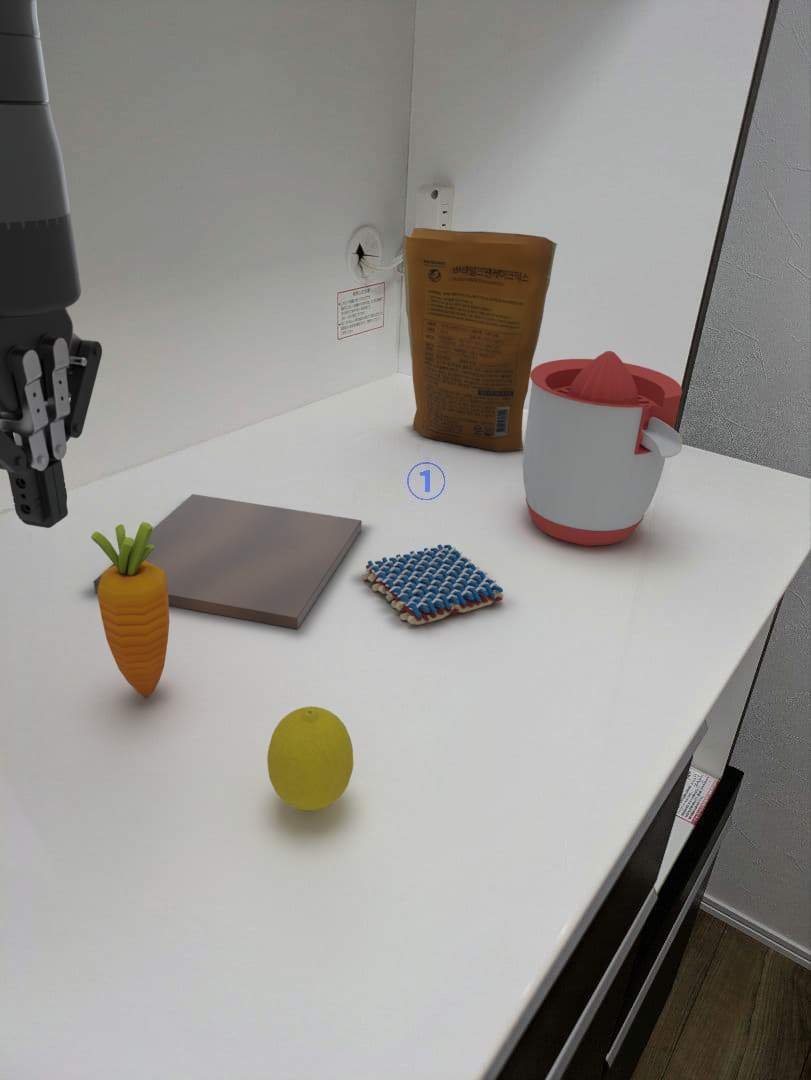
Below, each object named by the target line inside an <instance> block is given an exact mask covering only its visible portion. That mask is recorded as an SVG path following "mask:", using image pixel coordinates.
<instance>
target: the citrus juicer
mask: <svg viewBox="0 0 811 1080" xmlns="http://www.w3.org/2000/svg"><path fill="white" fill-rule="evenodd" d="M530 379H531V388H530V396H529V403H528V412H527V420H526V428H525V436H524V443H523V453H522V454H523V456H522V477H523V478H522V479H523V487H524V492H525V502H526V505H527V509H528V513H529V516H530V518H531V522H532V523H533V524H534V526H535V527H537V528H538V529H539V530H540V531H542V532H544V533H545V534H547V535H549V536H551V537H553V538H556V539H559V540H562V541H565V542H569V543H573V544H578V545H580V546H584V547H591V546H603V545H604V546H605V545H611V544H617V543H620V542H622V541H624V540H625V541H626V540H627V539H629V538H630V537H631V536H632V535H633V533H634V532H635V531H636V529H637V528H638V527H639V526H640V524H641V523H642V521H643V520H644V517H645V514H646V512H647V510H648V509H649V507H650V505H651V503H652V501H653V499H654V496H655V494H656V491H657V489H658V487H659V484H660V481H661V477H662V473H663V469H664V466H665V462H666V459H668V458H669V459H670V458H673V457H675V456H677V455H679V454H680V453H681V451H682V448H683V438H682V436H681V435H680V434H679V433H678V431H676V430H675V426H676V425H675V424H676V420H677V416H678V412H679V406H680V402H681V399H682V395H683V389H682V386H681V384H680V383H679V382H678V381H676V380H675V379H674V378H673V377H670V376H669V375H666V374H665V373H662V372H660V371H657V370H655V369H651V368H648V367H644V366H641V365H637V364H632V363H627V362H623V361H622V359H621V358H620V357H619V356H618V355H617V354H616V353H615V352H614V351H612V350H606V351H604V352H603V353H601V354H600V355H598V356H597V357H595V358H568V359H567V358H565V359H557V360H551V361H547V362H544V363H541V364H538V365H536V366H535V367H534V368H532V369H531V373H530Z"/></svg>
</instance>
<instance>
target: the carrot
mask: <svg viewBox="0 0 811 1080" xmlns="http://www.w3.org/2000/svg"><path fill="white" fill-rule="evenodd" d="M153 528H154V527H153V525H151V524H150V523H149V522H146V521H142V522H141V523H140V525H139V527H138V529H137V532H136V534H135V538H132V537H131V536H126V530H125V525H124V524H121V523H120V524H118V525H116V527H115V529H114V530H115V536H116V541H117V546H118V551H119V553H117V550H116V549H115V547H114V546H113V544H112V543H111V541H109V539H108V538H106V536H105V535H104V534H102V533H100V532H99V531H94V532H93V533H92V535H91V536H90V539H91V540H92V541H94V543H95V544H96V545H98V547H99V548H100V549H101V550H102V551H103V552H104V554H105V555H106V556H107V557H108V559H109V560H110V561H111V563H113V564H114V565H115V566H113V567H111V568H109V567H108V568H109V569H108V568H106V569H105V570H104V571H102V573H101V574H102V576H101V579H100V583H99V586H98V591H97V592H96V593H97V600H98V601H97V602H98V605H99V610H100V617H101V620H102V626H103V630H104V634H105V638H106V641H107V644H108V647H109V649H110V652H111V655H112V657H113V660H114V661H115V664H116V666H117V669H118V670H119V672H120V673H121V674H122V676H123V677H124V679H125V680H126V682H127V683H128V684H129V685H130V686H131V687H132V688H133V689H134V690H135V691H136V692H137V693H138V694H139V695H141V696H142V697H149V696H150V695H152V694H153V693H154V692H155V690H156V688H157V686H158V684H159V683H160V680H161V678H162V675H163V672H164V668H165V664H166V658H167V649H168V643H169V631H170V606H169V600H168V586H167V577H166V574H165V572H164V571H163V570H162V569H160V568H158V567H156V566H154V565H152V564H150V563H149V562H147V561H144V560H145V559H146V558H147V556H148V555H149V554H150V553H151V551H152V550H153V549H154V548H155V546H153V545H152V544H150V545H147V543H148V540H149V538H150V535H151V532H152V529H153Z"/></svg>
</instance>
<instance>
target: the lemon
mask: <svg viewBox="0 0 811 1080" xmlns="http://www.w3.org/2000/svg"><path fill="white" fill-rule="evenodd" d="M352 743H353V742H352V740H351V737H350V733H349V732H348V729H347V727H346V725H345V724H344V722H343V721H342V720H341V719H340V717H339V716H337V715H336V714H335V713H333V712H331V711H330V710H328V709H326V708H323V707H319V706H304V707H300V708H297V709H294V710H293V711H291V712H289V713H288V714H287V715H285V716H284V717H283V718H282V719H281V720H280V721H279V722H278V724H277V725H276V727H275V728H274V730H273V733H272V735H271V738H270V741H269V746H268V749H267V755H266V756H267V771H268V777H269V781H270V783H271V785H272V787H273V790H274V791H275V793H276V794H277V796H278V797H279V798H280V799H281V800H282V801H283V802H284V803H285V804H287V805H289V806H290V807H292V808H294V809H297V810H300V811H305V812H306V811H307V812H309V811H318V810H323V809H325V808H327V807H329V806H331V805H333V804H334V803H335V802H336V801H338V800H339V798H341V797H342V795H343V794H344V792H345V791H346V789H347V788H348V786H349V784H350V780H351V778H352V774H353V770H354V750H353V744H352Z"/></svg>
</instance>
